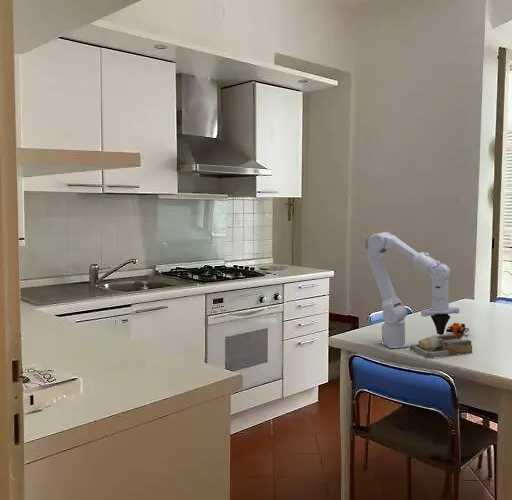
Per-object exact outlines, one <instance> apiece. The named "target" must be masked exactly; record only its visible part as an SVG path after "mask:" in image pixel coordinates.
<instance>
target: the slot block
mask: <svg viewBox="0 0 512 500" xmlns="http://www.w3.org/2000/svg"><path fill="white" fill-rule="evenodd" d="M438 336H439V337H441V339H442V344H443V346H439V347H436V348H435V349H437V350H440V351H445V350H448V351H449V355H456V356H458V355H457V354H464V355H467V354H466V353H472V354H473V344H472V340H470V339H462V340H460V339H458V338H457V337H458V336H457V335H455V334H454V333H449V334H443V335H439V334H438Z"/></svg>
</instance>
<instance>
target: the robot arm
mask: <svg viewBox="0 0 512 500" xmlns="http://www.w3.org/2000/svg"><path fill="white" fill-rule="evenodd" d="M366 244H367V253H366V254H367V256H366V257H367V262H368V264H369V266H370V269H371V273H372V274H373V275H372V276H373V277H374V279H375V280H374V281H375V283H376V286H377V288H378V290H379V291H378V292H379V293H380V296H381V300H382V303H381V304H382V305H381V309H382V318H383V320H384V321H383V324H382V325H381V341H380V342H381V343H382V342H383V344H384V345H383V344H382V345H383V346H385V345H386V346H385V347H387V346H388V347H387V348H388V349H390V348H394V349H401V348H402V349H403V348H410V345H411V344H408V343H406V321H405V319H406V317H407V316H408V309H407V308H406V306H405V305H404V304H403V303H402V300H401V299H400V298H399V297H398V296H397V294H396V292H395V288H394V287H393V284H392V281H391V279H390V275H389V273H388V270H387V267H386V265H385V262H384V260H383V257H384V256H385V254H386V252H387V251H388V250H395V251H397V252H398V253H400V254H402V255H403V256H405V257H407V258H409V259H410V260H411V261H412V263H413V266H415V267H416V268H418V269H420V270H421V271H423V272H424V273H426V274H427V275H429V277H430V279H431V280H432V281H431V308H429V309H424V310H423V309H422V310H421V311H420V316H421V317H423V318H424V317H425V318H426V317H430V318H431V319H432V321H433V323H434V327H435V330H436V335H438V336H439V335H445V331H446V330H445V329H446V328H447V327H446V326H447V324H448V322H449V320H450V319H451V315H452V314H460V307H449V306H450V305H449V303H450V302H449V294H450V293H449V292H450V291H449V278H450V276H451V273H452V271H451V269H450V267H449V266H448V264H446V263H441V261H440V260H436V259H435V258H432V257H431V256H430V253H428V252H423V251H421V252H418V251H417V250H415V249H413V248H412V247H411V246H409V245H408V244H406V243H405V242H404V241H402V240H401V239H400V238H398V236H396V235H394V234H392V233H391V232H389V231H383V232H380V233H379V232H378V233H373V234H372V235H370V237H369V239H368V241H367V242H366ZM450 314H451V315H450ZM381 343H380V344H381Z"/></svg>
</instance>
